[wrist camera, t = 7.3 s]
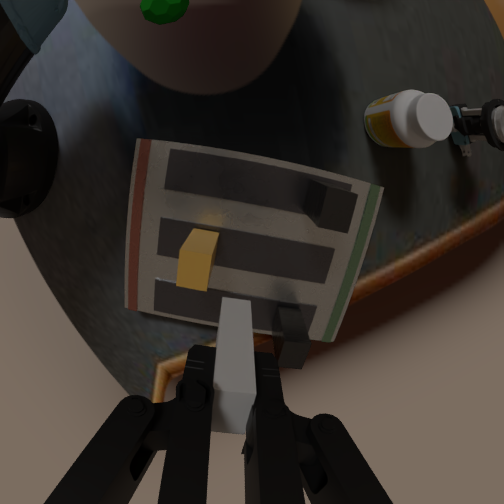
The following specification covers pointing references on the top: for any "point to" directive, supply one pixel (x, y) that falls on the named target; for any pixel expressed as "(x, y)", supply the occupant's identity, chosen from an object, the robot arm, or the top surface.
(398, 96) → the supplement bottle
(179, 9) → the polyhedron
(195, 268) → the block
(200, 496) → the robot arm
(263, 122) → the top surface
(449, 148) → the top surface
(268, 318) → the panel
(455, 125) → the push button
